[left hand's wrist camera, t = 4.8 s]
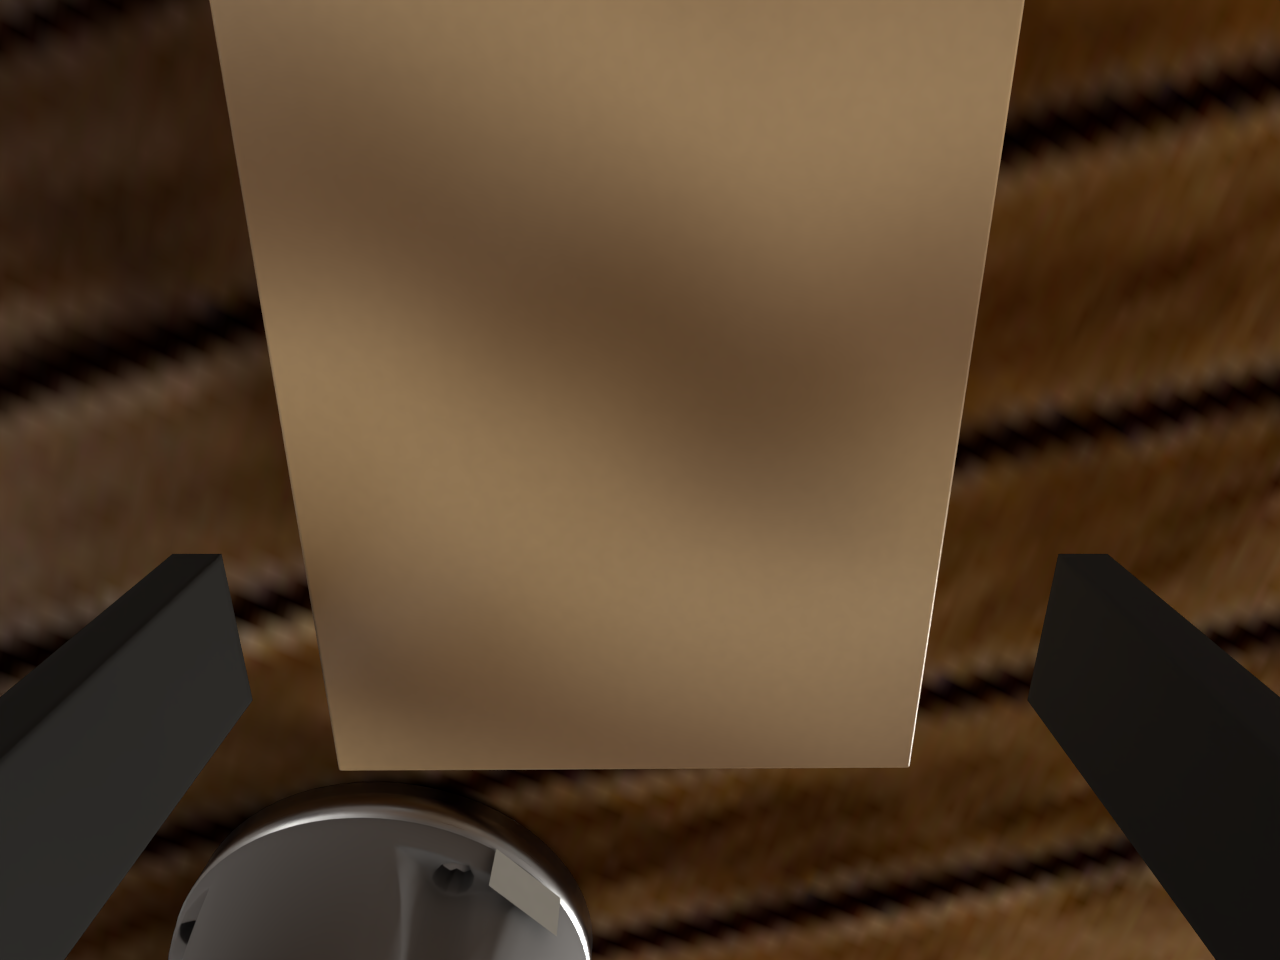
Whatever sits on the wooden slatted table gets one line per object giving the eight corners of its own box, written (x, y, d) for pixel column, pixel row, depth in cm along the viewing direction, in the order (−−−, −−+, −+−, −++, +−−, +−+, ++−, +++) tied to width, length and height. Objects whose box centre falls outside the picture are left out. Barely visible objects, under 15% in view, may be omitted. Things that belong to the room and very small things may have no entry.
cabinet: (387, -209, 18) (96, -657, 8) (859, -207, 19) (1124, -648, 9) (455, 534, 25) (337, 772, 15) (800, 532, 25) (910, 768, 15)
